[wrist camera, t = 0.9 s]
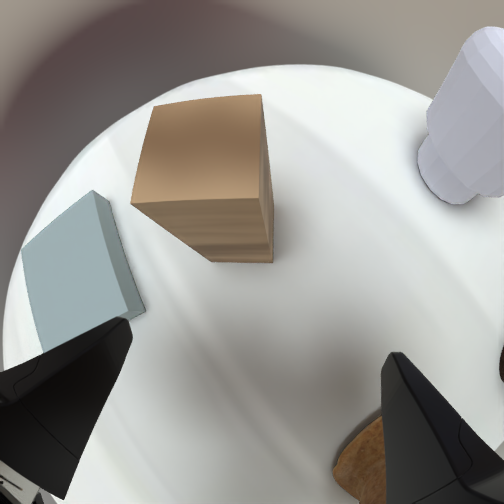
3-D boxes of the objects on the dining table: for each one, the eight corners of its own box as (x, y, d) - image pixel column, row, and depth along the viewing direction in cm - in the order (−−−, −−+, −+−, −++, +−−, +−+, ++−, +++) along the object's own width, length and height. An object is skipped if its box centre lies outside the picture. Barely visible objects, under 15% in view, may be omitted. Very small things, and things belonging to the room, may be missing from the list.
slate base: (145, 311, 22) (128, 310, 19) (63, 353, 22) (44, 356, 19) (108, 200, 25) (92, 189, 22) (38, 255, 25) (21, 249, 22)
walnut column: (272, 263, 22) (258, 198, 9) (211, 262, 23) (130, 203, 10) (273, 204, 23) (261, 94, 10) (215, 204, 24) (153, 106, 11)
